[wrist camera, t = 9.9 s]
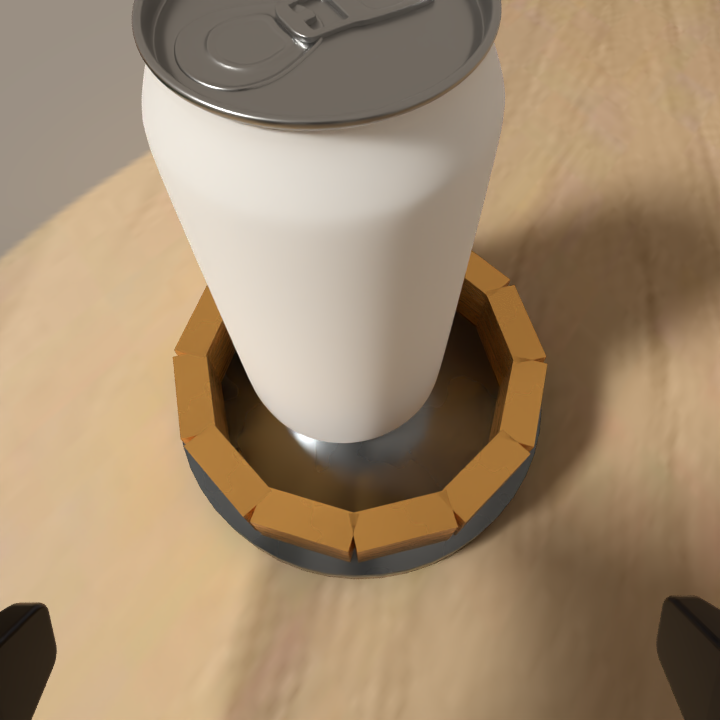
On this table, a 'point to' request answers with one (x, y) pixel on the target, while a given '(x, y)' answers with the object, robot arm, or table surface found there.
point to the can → (327, 186)
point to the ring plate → (370, 446)
